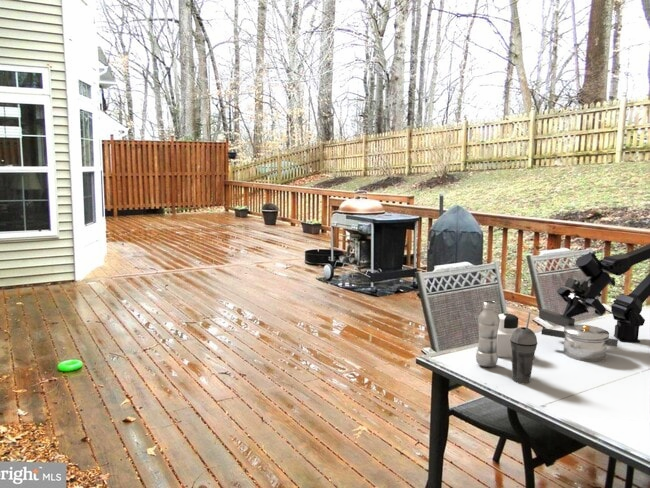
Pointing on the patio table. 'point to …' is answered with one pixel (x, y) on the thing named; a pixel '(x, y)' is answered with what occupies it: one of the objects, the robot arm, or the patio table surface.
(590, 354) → the cooker pot
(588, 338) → the cooker lid
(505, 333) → the container
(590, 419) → the patio table surface
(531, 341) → the beverage cup
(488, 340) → the plastic bottle
